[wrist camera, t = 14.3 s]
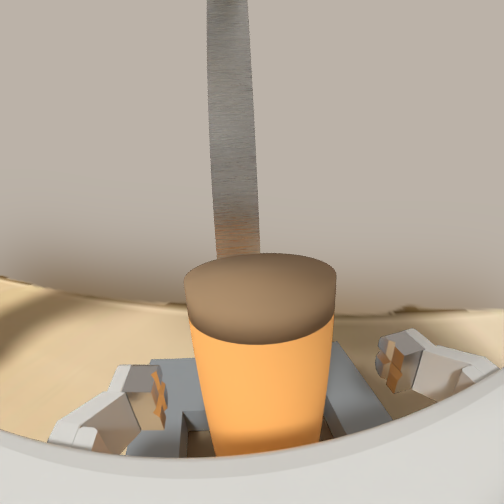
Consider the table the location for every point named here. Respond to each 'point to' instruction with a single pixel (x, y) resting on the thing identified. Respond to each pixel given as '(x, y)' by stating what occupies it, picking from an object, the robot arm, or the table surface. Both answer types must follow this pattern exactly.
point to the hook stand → (232, 129)
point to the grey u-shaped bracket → (194, 416)
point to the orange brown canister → (262, 348)
